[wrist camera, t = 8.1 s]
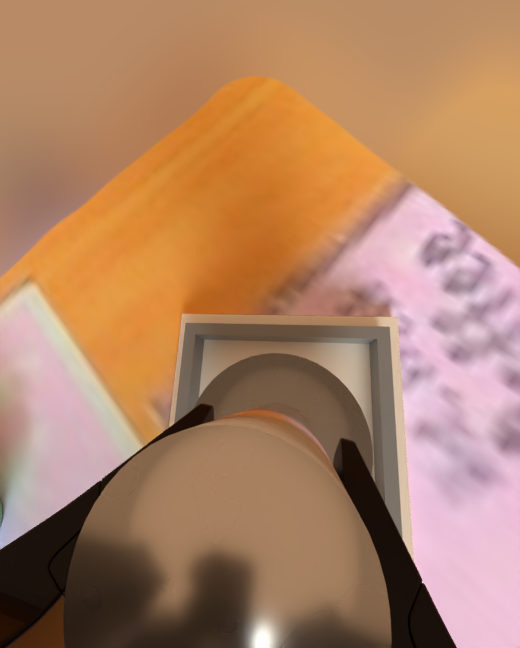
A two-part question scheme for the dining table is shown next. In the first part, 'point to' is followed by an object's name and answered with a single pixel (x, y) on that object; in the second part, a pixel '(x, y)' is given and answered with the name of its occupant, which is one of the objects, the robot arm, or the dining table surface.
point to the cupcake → (0, 513)
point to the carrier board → (326, 350)
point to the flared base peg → (236, 527)
